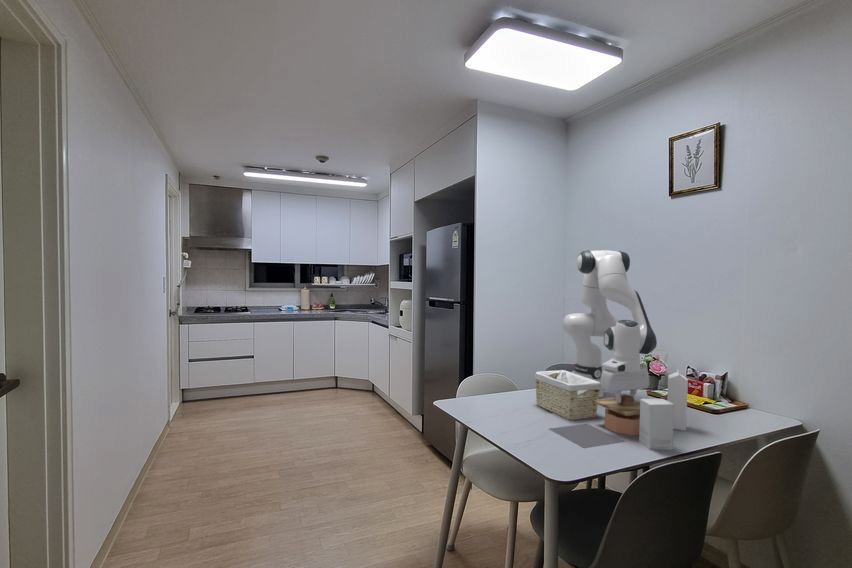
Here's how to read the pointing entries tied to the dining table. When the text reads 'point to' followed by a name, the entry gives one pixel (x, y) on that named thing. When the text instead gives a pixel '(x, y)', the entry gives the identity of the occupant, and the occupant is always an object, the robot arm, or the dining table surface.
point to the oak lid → (620, 405)
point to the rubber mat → (586, 435)
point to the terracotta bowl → (622, 422)
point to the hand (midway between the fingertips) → (625, 401)
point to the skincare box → (656, 423)
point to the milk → (678, 399)
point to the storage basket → (567, 394)
